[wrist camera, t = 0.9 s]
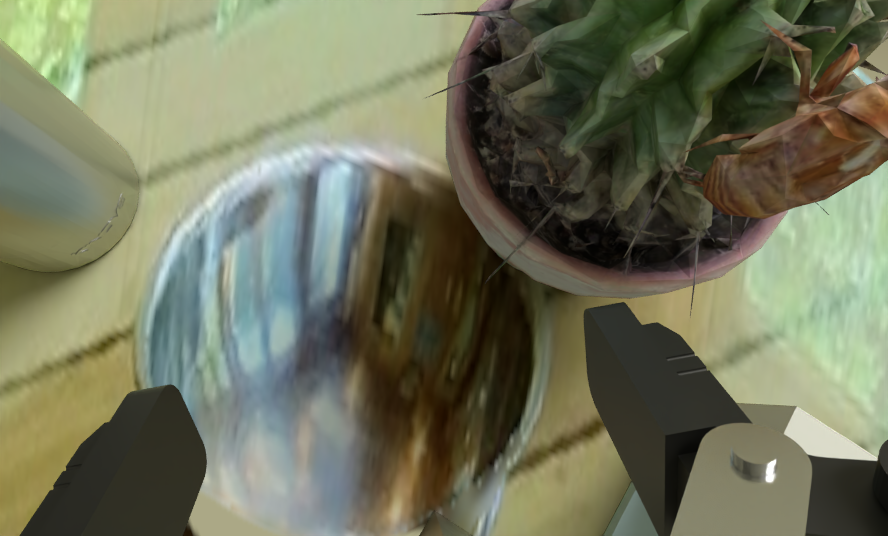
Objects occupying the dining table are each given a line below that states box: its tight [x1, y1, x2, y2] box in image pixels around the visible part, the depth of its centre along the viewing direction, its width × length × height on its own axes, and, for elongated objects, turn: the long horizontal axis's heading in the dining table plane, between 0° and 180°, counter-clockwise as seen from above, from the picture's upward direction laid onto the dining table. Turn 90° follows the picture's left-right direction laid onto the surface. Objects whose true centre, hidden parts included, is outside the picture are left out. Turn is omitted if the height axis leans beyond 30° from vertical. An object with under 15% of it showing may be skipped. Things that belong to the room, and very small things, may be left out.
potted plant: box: [417, 0, 888, 316], centre depth 25 cm, size 18×20×25 cm
